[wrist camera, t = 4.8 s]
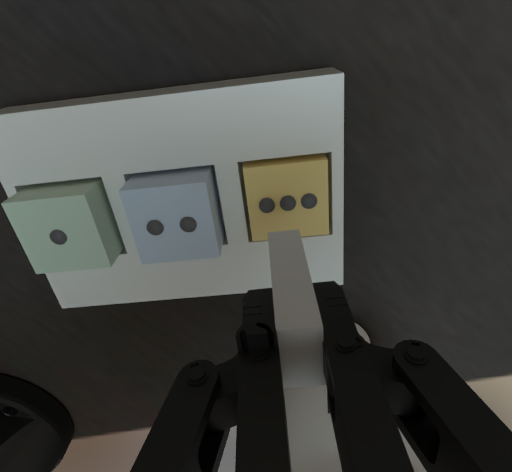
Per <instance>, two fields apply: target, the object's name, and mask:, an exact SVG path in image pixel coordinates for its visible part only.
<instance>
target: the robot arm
mask: <svg viewBox="0 0 512 472" xmlns="http://www.w3.org/2000/svg"><path fill="white" fill-rule="evenodd" d="M268 245H269V257H270V269H271V280H272V288H264V289H254V290H248V292H247V293H246V295H245V297H244V298H243V325H242V326H241V327H240V328H239V329H238V330H237V334H236V340H237V346H238V351H239V352H238V353H237V355H236V356H235V357H233V358H232V359H230V360H228V361H226V362H224V363H221V364H219V365H214V364H213V363H212V362H211V361H207V360H196V361H193V362H191V363H189V364H187V365H186V366H185V367H183V368H182V370H181V371H180V372H179V374H178V375H177V378H176V380H175V382H174V384H173V386H172V388H171V390H170V392H169V394H168V396H167V398H166V400H165V402H164V404H163V406H162V408H161V410H160V412H159V414H158V416H157V418H156V420H155V422H154V424H153V426H152V428H151V430H150V432H149V434H148V436H147V438H146V440H145V443H144V444H143V446H142V449H141V451H140V452H139V455H138V457H137V459H136V461H135V463H134V465H133V467H132V469H131V471H130V472H217V471H218V468H219V465H220V461H221V458H222V455H223V451H224V448H225V445H226V441H227V438H228V435H229V431H230V428H231V427H233V426H236V425H237V438H236V467H235V468H236V469H235V472H292V470H291V460H290V450H289V439H288V429H287V418H286V408H285V398H284V388H296V387H307V386H319V385H325V382H326V386H327V406H328V413H330V415H331V419H332V424H333V429H334V434H335V439H336V444H337V448H338V453H339V458H340V463H341V468H342V472H414V469H413V467H412V464H411V461H410V459H409V456H408V453H407V450H406V448H405V445H404V442H403V440H402V437H401V434H400V432H399V430H400V431H401V433H402V434H403V436H404V437H405V439H406V440H407V442H408V443H409V445H410V447H411V448H412V450H413V451H414V453H415V454H416V456H417V457H418V459H419V460H420V462H421V464H422V465H423V467H424V468H425V470H426V471H427V472H512V432H511V431H510V430H509V428H508V427H507V426H506V425H505V424H504V423H503V422H502V421H501V420H500V419H499V418H498V417H497V416H496V414H495V413H494V412H493V411H492V410H491V409H490V408H489V407H488V406H487V405H486V404H485V403H484V402H483V401H482V399H481V398H480V397H478V395H477V394H476V393H475V392H474V391H473V390H472V389H471V388H470V387H469V386H468V385H467V383H466V382H465V381H464V380H463V379H462V378H461V377H460V376H459V375H458V374H457V373H456V372H455V371H454V370H453V369H452V367H451V366H450V365H449V364H448V363H447V362H446V361H445V360H444V359H443V358H442V357H441V356H440V355H439V354H438V353H437V351H436V350H435V349H433V348H432V347H431V346H429V345H428V344H426V343H423V342H421V341H417V340H404V341H401V342H400V343H398V344H397V345H396V346H395V347H394V349H390V348H384V347H379V346H375V345H373V344H370V343H368V342H367V341H365V340H364V338H363V337H362V336H360V335H359V333H358V331H357V328H356V325H355V323H354V320H353V317H352V314H351V312H350V309H349V306H348V303H347V300H346V298H345V295H344V292H343V289H342V287H340V286H339V285H338V284H337V283H336V282H335V281H326V282H316V283H312V280H311V276H310V272H309V268H308V263H307V259H306V255H305V251H304V247H303V243H302V239H301V235H300V231H299V229H297V230H287V231H278V232H268ZM398 428H399V429H398ZM73 432H74V429H73V423H72V420H71V418H70V416H69V415H68V413H67V412H66V410H65V409H64V408H63V407H62V406H61V405H60V404H59V403H58V402H57V401H56V400H55V399H54V398H52V397H51V396H50V395H48V394H47V393H45V392H44V391H42V390H40V389H39V388H37V387H35V386H33V385H31V384H28V383H26V382H24V381H21V380H18V379H15V378H12V377H8V376H4V375H0V472H51V471H53V469H54V468H55V467H56V466H57V465H58V464H59V463H60V462H61V460H62V459H63V457H64V455H65V453H66V451H67V448H68V446H69V444H70V442H71V440H72V437H73Z"/></svg>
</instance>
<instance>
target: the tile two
mask: <svg viewBox="0 0 512 472" xmlns="http://www.w3.org/2000/svg"><path fill="white" fill-rule="evenodd" d="M119 194H120V197H121V200H122V204H123V207H124V210H125V213H126V216H127V219H128V222H129V225H130V228H131V232H132V235H133V238H134V241H135V244H136V247H137V250H138V253H139V257H140V260H141V263H142V264H152V263H163V262H174V261H185V260H196V259H207V258H218V257H220V255H221V250H222V244H223V238H224V229H223V224H222V218H221V213H220V207H219V201H218V196H217V190H216V185H215V179H214V174H213V168H212V165H206V166H197V167H187V168H178V169H169V170H160V171H150V172H141V173H134V174H133V175H132V176H131V177H130V179H129V180H128V181H127V182H126V183H125V184H124V185H123V187H122V188H121V189H120V190H119Z"/></svg>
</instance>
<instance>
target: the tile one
mask: <svg viewBox="0 0 512 472" xmlns="http://www.w3.org/2000/svg"><path fill="white" fill-rule="evenodd" d="M1 205H2V207H3V209H4V211H5V213H6V215H7V217H8V219H9V221H10V223H11V225H12V227H13V229H14V231H15V233H16V235H17V237H18V239H19V241H20V243H21V245H22V247H23V249H24V251H25V253H26V255H27V257H28V259H29V261H30V263H31V265H32V267H33V269H34V271H35V273H36V274H42V273H53V272H64V271H75V270H86V269H97V268H108V267H112V265H113V264H114V262H115V261H116V259H117V257H118V256H119V254H120V253H121V251H122V249H123V248H124V243H123V240H122V237H121V234H120V231H119V228H118V225H117V222H116V219H115V216H114V213H113V210H112V207H111V204H110V201H109V198H108V196H107V193H106V190H105V187H104V184H103V181H102V178H101V177H95V178H86V179H76V180H67V181H58V182H49V183H39V184H30V185H28V186H26V187H25V188H23V189H22V190H20V191H19V192H17V193H16V194H14V195H13V196H11V197H10V198H8V199H7V200H5V201H4V202H2V203H1Z"/></svg>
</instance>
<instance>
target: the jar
mask: <svg viewBox="0 0 512 472" xmlns="http://www.w3.org/2000/svg"><path fill="white" fill-rule="evenodd" d="M354 323H355V322H354ZM355 325H356V328H357V331H358V333H359V335H360V336H362V337H363V338H364V340H365V341H367V342H368V343H370V339H369V337H368V335H367V333H366V332H365V331H364V329H363V328H362V327H361V326H359V325H358V324H356V323H355ZM370 344H371V343H370ZM284 398H285V408H286V418H287V429H288V439H289V450H290V460H291V470H292V472H342V468H341V463H340V458H339V453H338V448H337V444H336V439H335V434H334V429H333V424H332V419H331V415H330V413H328V406H327V386H326V382H325V385H319V386H307V387H296V388H284ZM398 429H399V428H398ZM399 432H400V434H401V437H402V440H403V442H404V445H405V448H406V450H407V453H408V456H409V459H410V461H411V464H412V467H413V469H414V472H427V471H426V470H425V468H424V467H423V465H422V464H421V462H420V460H419V459H418V457H417V456H416V454H415V453H414V451H413V450H412V448H411V447H410V445H409V443H408V442H407V440H406V439H405V437H404V436H403V434H402V433H401V431H400V430H399Z"/></svg>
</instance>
